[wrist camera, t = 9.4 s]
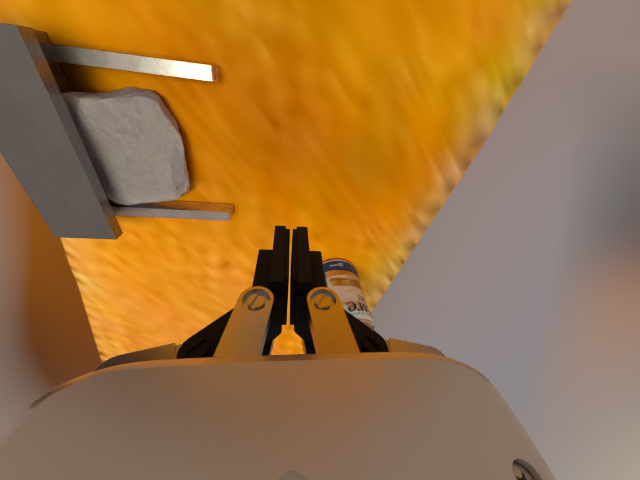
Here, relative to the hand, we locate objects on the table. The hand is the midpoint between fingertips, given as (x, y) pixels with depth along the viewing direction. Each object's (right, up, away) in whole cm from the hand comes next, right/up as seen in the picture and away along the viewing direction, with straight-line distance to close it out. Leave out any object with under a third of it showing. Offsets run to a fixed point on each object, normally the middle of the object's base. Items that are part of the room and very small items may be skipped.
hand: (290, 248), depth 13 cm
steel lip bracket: (-18, +11, +14) cm, 26 cm away
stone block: (-19, +11, +15) cm, 26 cm away
